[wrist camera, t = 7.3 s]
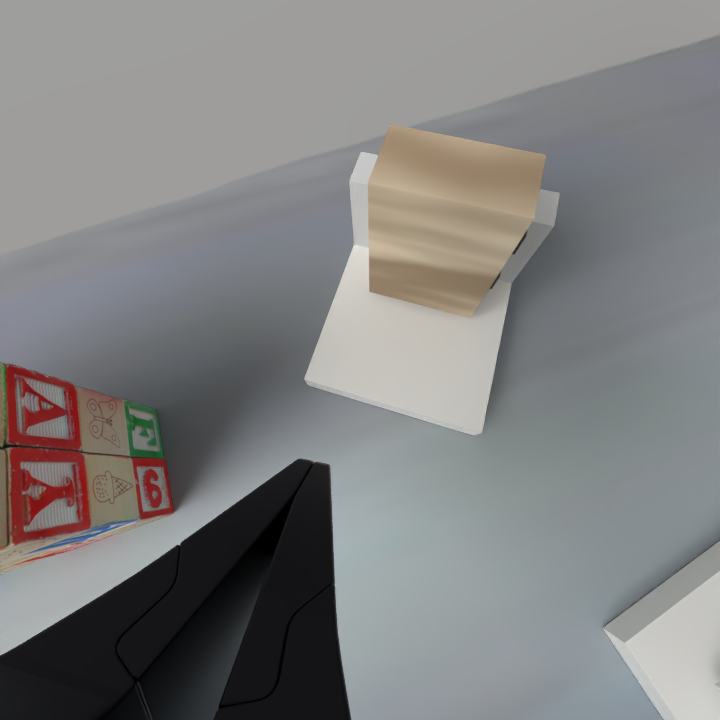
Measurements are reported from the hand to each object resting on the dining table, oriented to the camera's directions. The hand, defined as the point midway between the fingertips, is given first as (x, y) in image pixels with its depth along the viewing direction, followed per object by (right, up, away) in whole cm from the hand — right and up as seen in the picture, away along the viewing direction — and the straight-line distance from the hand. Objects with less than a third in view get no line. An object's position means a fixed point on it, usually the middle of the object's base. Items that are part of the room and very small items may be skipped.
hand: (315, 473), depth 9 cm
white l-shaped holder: (+5, +5, +13) cm, 14 cm away
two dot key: (+5, +7, +11) cm, 14 cm away
